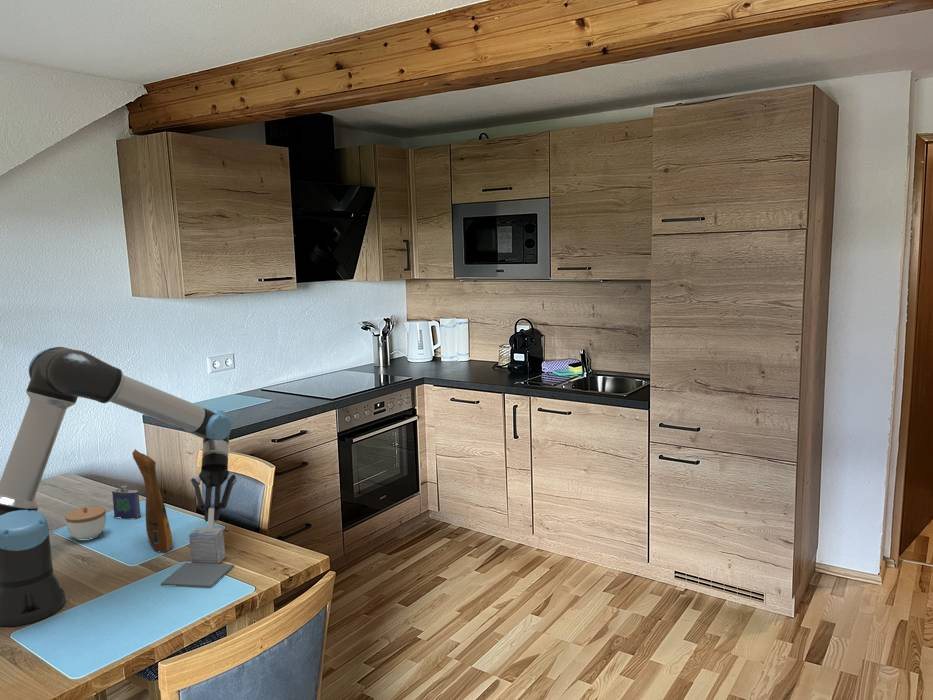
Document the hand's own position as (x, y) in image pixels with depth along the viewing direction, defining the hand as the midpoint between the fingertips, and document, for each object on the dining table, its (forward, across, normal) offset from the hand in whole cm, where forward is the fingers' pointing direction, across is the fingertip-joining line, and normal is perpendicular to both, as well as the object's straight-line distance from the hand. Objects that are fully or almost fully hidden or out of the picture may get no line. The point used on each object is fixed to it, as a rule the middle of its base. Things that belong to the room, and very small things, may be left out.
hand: (210, 531), depth 198 cm
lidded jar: (-10, +39, -19) cm, 45 cm away
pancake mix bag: (-2, +17, -11) cm, 20 cm away
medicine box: (+9, 0, 0) cm, 9 cm away
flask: (-21, +32, -30) cm, 48 cm away
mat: (+15, +1, +6) cm, 16 cm away
